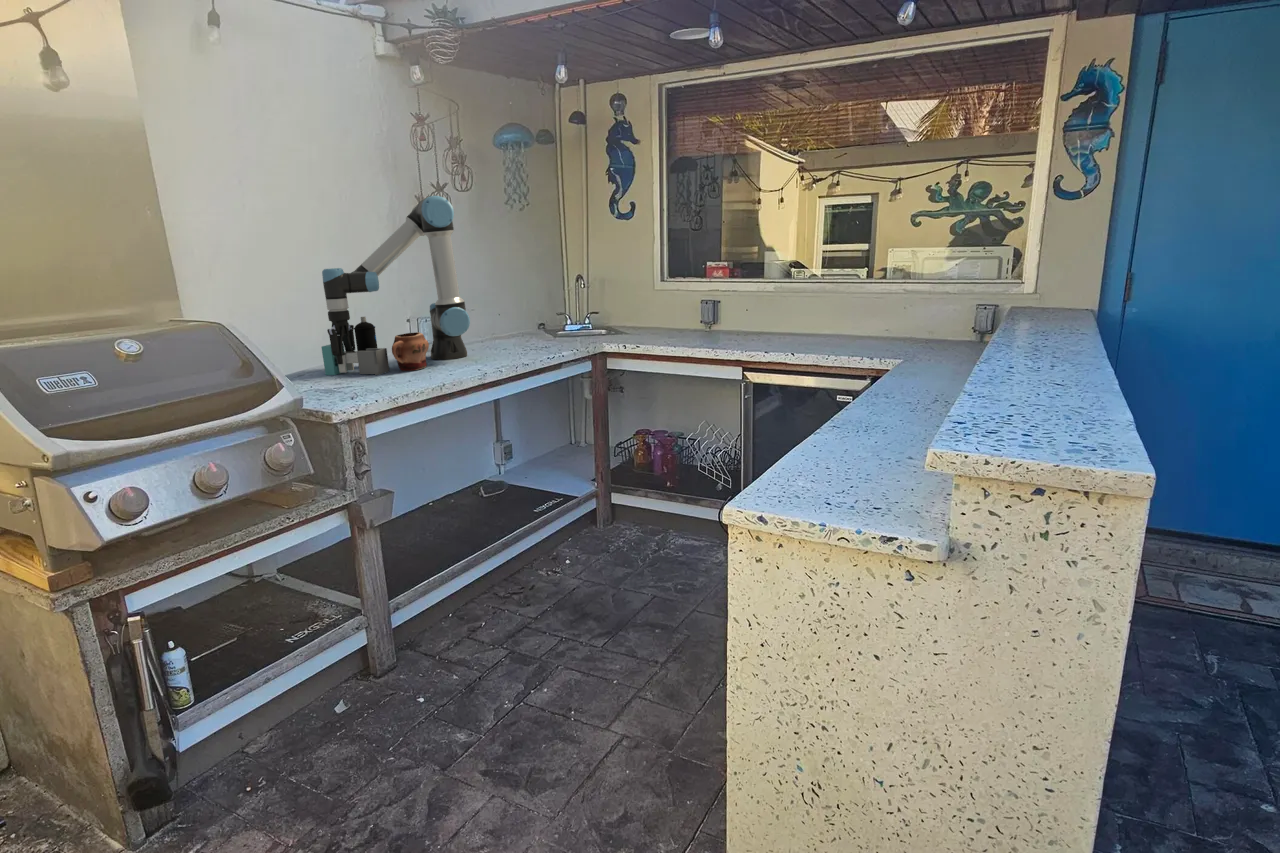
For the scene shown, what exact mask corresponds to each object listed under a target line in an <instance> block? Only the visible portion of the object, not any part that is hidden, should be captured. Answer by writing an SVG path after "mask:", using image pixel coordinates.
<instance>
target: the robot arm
mask: <svg viewBox="0 0 1280 853" xmlns="http://www.w3.org/2000/svg"><path fill="white" fill-rule="evenodd" d="M454 210H455V209H454V207H453V205H452V203H451V202H450V201H449V200H448V199H447V198H446V197H443V196H441V195H440V196H439V195H430V196H428V197H426V198H422V199H421V200H420V201H419V202H418V204H416V206H415V207H414V208H413V210H412V211H411V212H410V213H409V214H408V215H407V216H405V222H404V223H402V224H401V226H400V227H398V228H397V229H396V230H395V231H394V232H393V233H392V234H391V235H390V236H389V237H388V238H387V239H386V240H385V241H383V242H382V244H380V245H379V247H378V248H376V249H375V250H374V251H373V252H372V253H371V254H370V255H369V256H368V257H367V258H366V259H365V260H364V261H363V262H361V264H360V265H359V266H358V267H357V268H355V269H354V270H353V271H352V272H344V269H343V268H342V267H337V268H335V267H334V268H324V269H323V270H322V272H321V276H322V284H323V291H324V296H325V302H326V303H325V304H326V309H327V310H328V311H327V317H328V321H329V322H331V328H327V333H328V336H329V337H328V338H329V343H330V344H331V349H332V354H333V355H334V356H337V360H338V365H339V372H340V374H343V373H345V374H346V373H348V371H355V366H354V365H355V364H354V363H346V362H345V355H343V345H344V351H356V344H355V343H356V340H355V332H354V328H355V326H354V324H350V323H349V322H348V321H349V320H351V316H350V311H349V310H348V309H349V308H350V307H349V302H348V296H347V294H354V293H356V294H357V293H359V294H360V293H373V292H378V291H379V289H380V283H379V282H380V280H379V276H380V275H381V274H382V273H383V272H385V270H386V269H387V268H388V267H390V266H391V264H393V262H395V260H396V259H398V257H400V256H401V255H402V254H403V253H404V252H405V251H406V250H407V249H408V248H410V246H411V245H412V244H414V242H415V241H417V240H418V238H420V237H424V236H426V237H427V239H428V243H429V250H430V256H431V262H432V263H431V264H432V270H433V275H434V276H433V277H434V281H435V282H434V283H435V287H436V295H437V300H436V302H433V303H431V304H429V315H430V321H431V322H430V323H431V332H432V340H433V341H432V344H431V347H430V359H431V360H452V359H461V358H465V357H467V356H468V350H467V348H466V346H465V343H464V341H463V338H462V335H463V334H465V333H466V332H467V331H468V330H469V327H470V324H471V318H470V316H469V313H468V312H467V310H466V302H465V299H463V298H462V297H461V295H460V290H459V282H458V276H457V275H458V274H457V269H456V263H455V262H456V261H455V256H454V250H453V249H454V248H453V242H452V235H453V233H454V231H455V230H454V229H455V228H454V223H453V221H454V216H455V215H454V214H455V211H454ZM346 367H347V368H346Z"/></svg>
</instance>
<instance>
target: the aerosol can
mask: <svg viewBox="0 0 1280 853" xmlns="http://www.w3.org/2000/svg"><path fill="white" fill-rule="evenodd" d="M353 331H354V338H355V343H356V344H355V345H356V351H366V349H367V348H378V344H377V343H378V341H377V335H376V326H375V325H374V324H372V322H368V321H367V317H366V316H360V322H359V323H357V324H356V325H355V326H354V329H353Z"/></svg>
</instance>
